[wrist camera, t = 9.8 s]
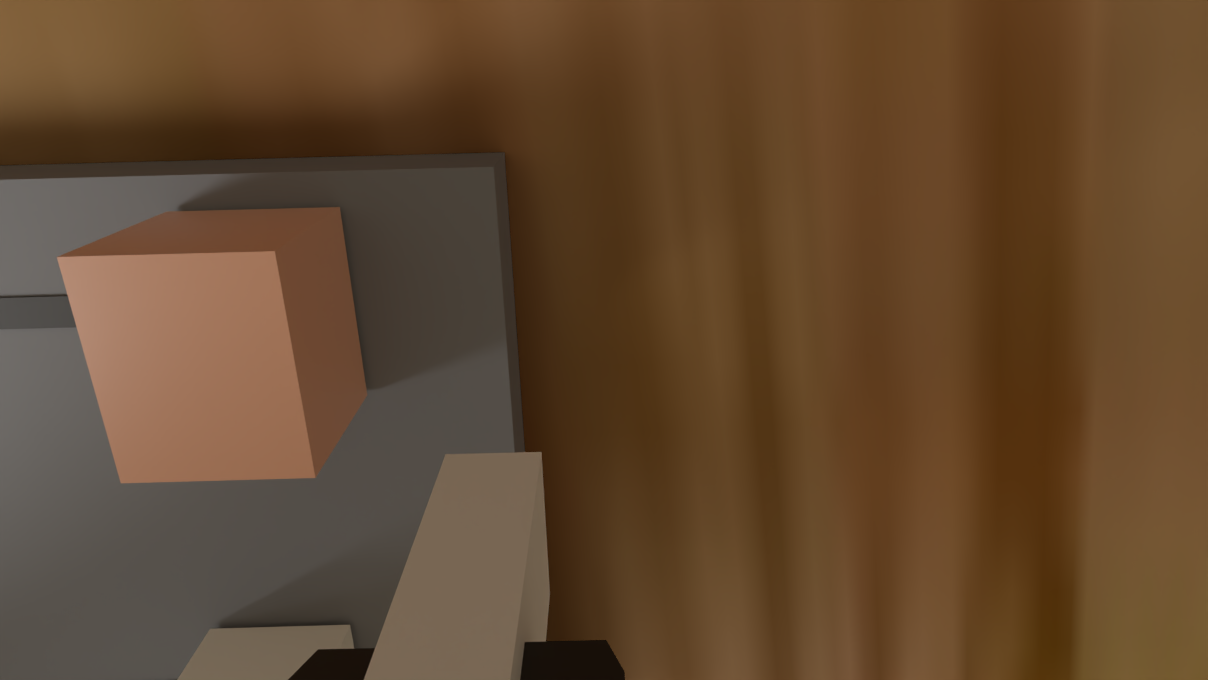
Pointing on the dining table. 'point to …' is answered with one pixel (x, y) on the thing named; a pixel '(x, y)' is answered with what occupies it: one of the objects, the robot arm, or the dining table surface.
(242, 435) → the salmon orange block
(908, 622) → the dining table surface
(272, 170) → the console
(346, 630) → the block
